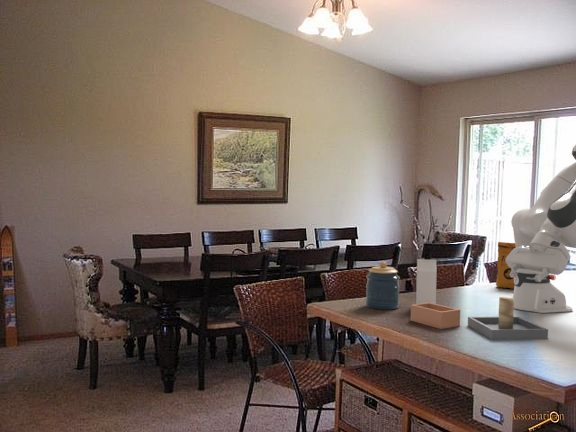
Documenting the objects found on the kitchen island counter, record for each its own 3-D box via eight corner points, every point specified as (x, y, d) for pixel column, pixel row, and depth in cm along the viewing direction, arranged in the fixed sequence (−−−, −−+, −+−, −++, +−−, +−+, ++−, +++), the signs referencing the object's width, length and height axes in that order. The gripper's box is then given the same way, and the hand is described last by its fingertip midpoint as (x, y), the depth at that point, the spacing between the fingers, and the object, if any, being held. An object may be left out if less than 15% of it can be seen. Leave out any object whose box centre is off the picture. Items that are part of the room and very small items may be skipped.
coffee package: (522, 291, 261) (523, 243, 261) (494, 288, 267) (495, 242, 267) (524, 288, 270) (526, 242, 269) (497, 285, 276) (498, 240, 275)
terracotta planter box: (428, 317, 202) (429, 302, 202) (459, 325, 190) (460, 309, 190) (410, 320, 197) (410, 304, 197) (441, 329, 185) (441, 312, 185)
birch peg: (508, 327, 185) (510, 296, 184) (515, 330, 180) (516, 299, 180) (495, 327, 184) (496, 296, 184) (502, 330, 180) (503, 299, 179)
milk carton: (435, 311, 214) (436, 261, 213) (416, 310, 215) (417, 260, 214) (434, 307, 221) (435, 259, 220) (415, 306, 222) (417, 258, 221)
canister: (406, 308, 218) (407, 262, 218) (380, 311, 211) (381, 264, 211) (383, 302, 229) (384, 259, 229) (358, 305, 222) (359, 260, 222)
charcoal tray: (518, 325, 192) (519, 316, 192) (547, 339, 174) (548, 329, 174) (467, 325, 190) (467, 316, 190) (491, 339, 173) (492, 329, 172)
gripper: (513, 239, 200) (494, 268, 195) (567, 244, 182) (547, 276, 178) (521, 251, 202) (502, 280, 198) (575, 257, 185) (555, 289, 180)
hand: (524, 278), depth 187 cm, fingers open, 8 cm apart
